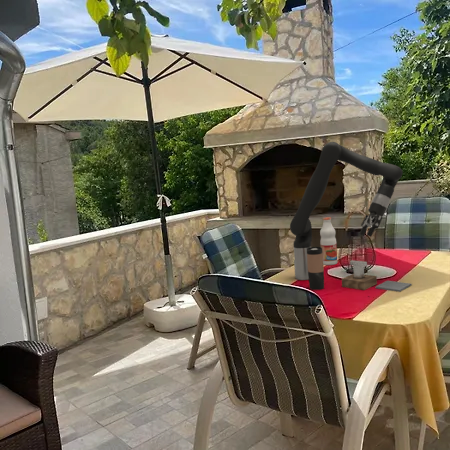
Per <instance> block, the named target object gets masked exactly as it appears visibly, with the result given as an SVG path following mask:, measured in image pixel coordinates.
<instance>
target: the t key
mask: <svg viewBox="0 0 450 450" xmlns="http://www.w3.org/2000/svg"><path fill="white" fill-rule="evenodd" d="M349 265H350V266H352V267H353V268H352V269H353V274H354V278H355V279H363V278H364V275H365V267H367V266H368V261H361V260H349Z"/></svg>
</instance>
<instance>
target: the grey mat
mask: <svg viewBox="0 0 450 450" xmlns="http://www.w3.org/2000/svg"><path fill="white" fill-rule="evenodd" d="M412 285H413V283H408V282H401V281H394V280H385V281H383V282H381V283H380V284H376V285H374V286H375V289H378V290H386V291H392V292H398V293H400V292H402V291H404V290H406V289H408V288H410V287H411V286H412Z"/></svg>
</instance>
